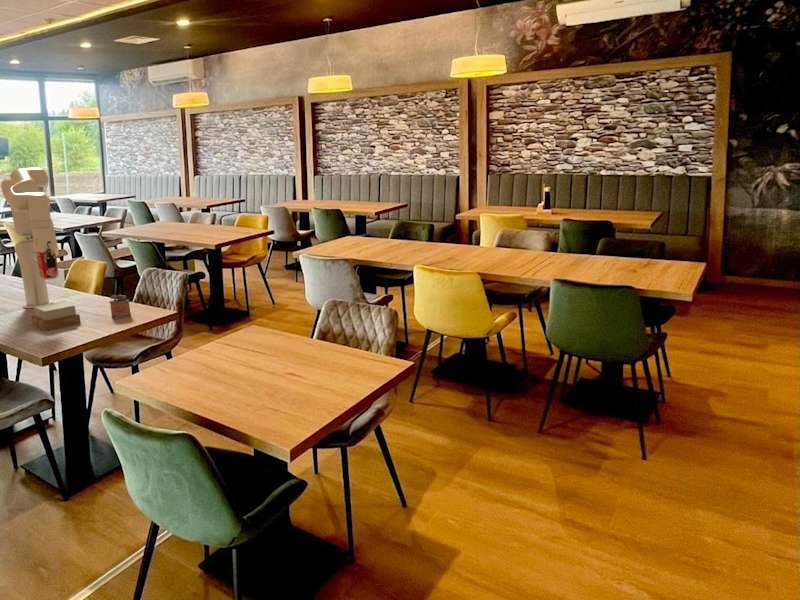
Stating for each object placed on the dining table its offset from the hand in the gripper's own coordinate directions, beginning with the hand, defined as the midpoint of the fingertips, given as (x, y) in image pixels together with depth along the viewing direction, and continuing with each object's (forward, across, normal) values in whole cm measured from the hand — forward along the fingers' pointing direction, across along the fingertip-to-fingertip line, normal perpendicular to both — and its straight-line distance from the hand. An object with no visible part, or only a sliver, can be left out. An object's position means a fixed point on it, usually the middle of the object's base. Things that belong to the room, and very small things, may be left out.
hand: (48, 266), depth 265 cm
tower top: (+21, 0, 0) cm, 21 cm away
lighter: (+25, +11, +23) cm, 36 cm away
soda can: (+5, 0, 0) cm, 5 cm away
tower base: (+25, 0, 0) cm, 25 cm away
